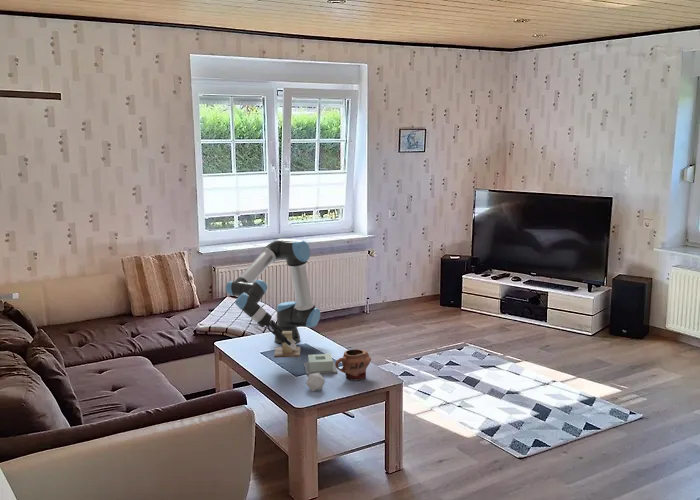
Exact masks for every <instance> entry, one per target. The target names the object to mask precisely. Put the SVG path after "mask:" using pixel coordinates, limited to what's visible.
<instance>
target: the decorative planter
mask: <svg viewBox="0 0 700 500" xmlns="http://www.w3.org/2000/svg"><path fill="white" fill-rule="evenodd" d="M371 360H372V358H371V356H370V355H369V352H368V351H366V350H364V349H357V348H356V349H348V350H346V351H344V353H343V356H342V357H340V358H338V359H337V360H336V361H335V366H336V369H337V371H340V372H341V373H343V374H345V378H346V379H347V380H351V381H360V380H363V379H365V378H366V377H367V368H368V366H369V365H370V363H371V362H372V361H371ZM340 363H341V364H342V368H340V367H339V364H340Z"/></svg>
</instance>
